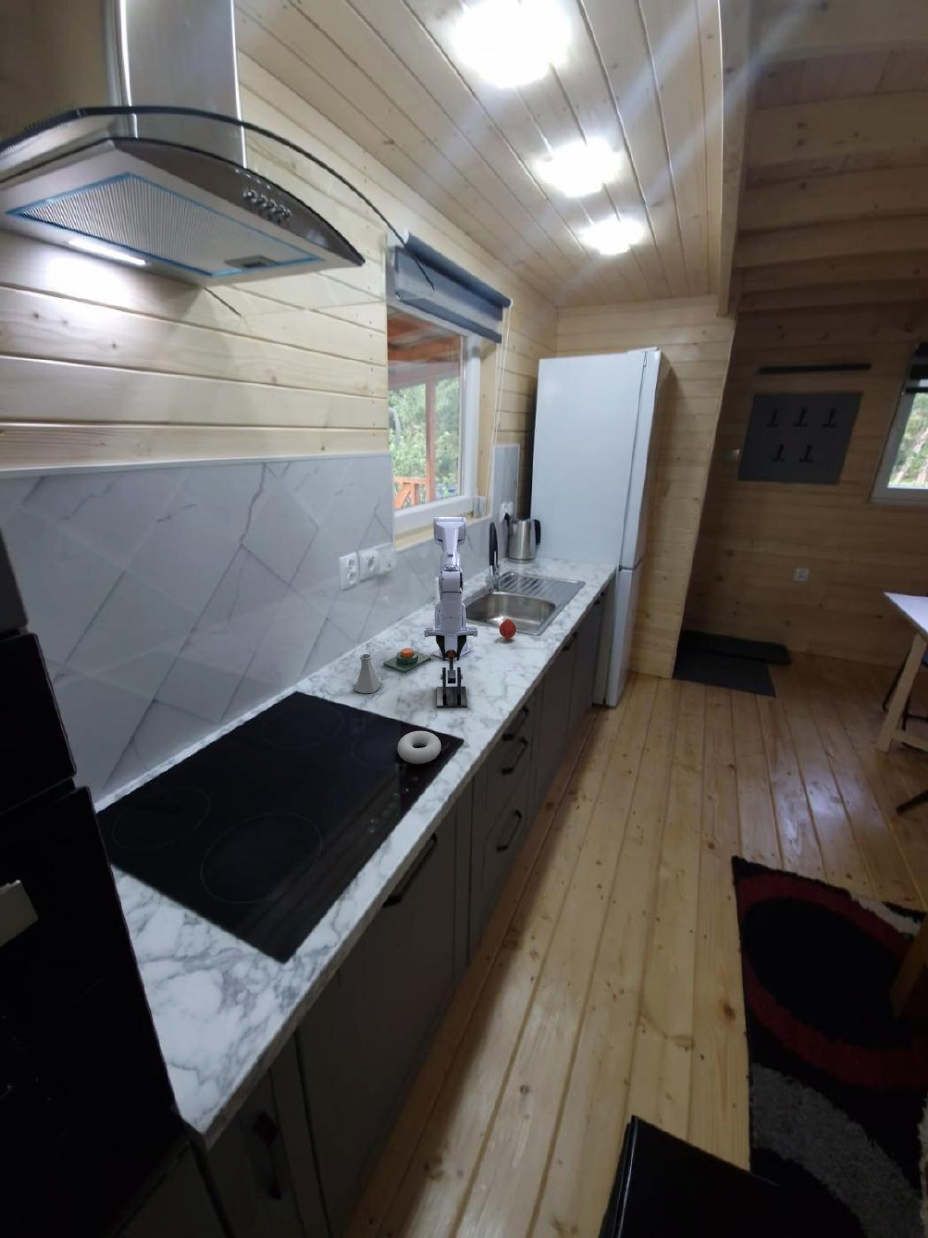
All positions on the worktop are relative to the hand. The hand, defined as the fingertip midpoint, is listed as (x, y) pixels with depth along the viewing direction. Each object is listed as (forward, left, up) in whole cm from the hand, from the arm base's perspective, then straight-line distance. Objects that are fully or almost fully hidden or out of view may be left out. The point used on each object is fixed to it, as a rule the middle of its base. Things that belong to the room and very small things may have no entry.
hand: (451, 659), depth 138 cm
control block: (-3, -20, -9) cm, 22 cm away
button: (-3, -20, -6) cm, 21 cm away
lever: (+2, +2, -2) cm, 3 cm away
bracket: (+6, +4, -9) cm, 11 cm away
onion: (-37, -4, -9) cm, 39 cm away
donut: (+29, +12, -9) cm, 32 cm away
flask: (+15, -19, -9) cm, 25 cm away
